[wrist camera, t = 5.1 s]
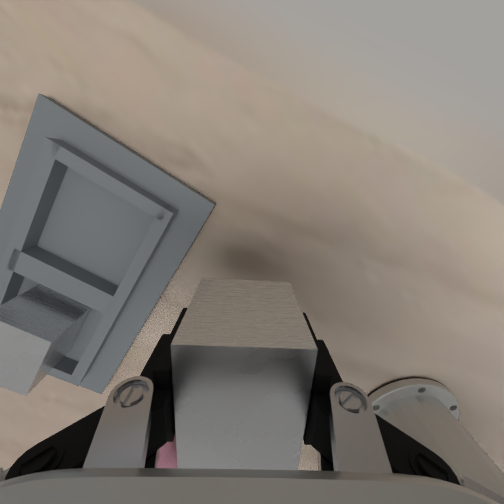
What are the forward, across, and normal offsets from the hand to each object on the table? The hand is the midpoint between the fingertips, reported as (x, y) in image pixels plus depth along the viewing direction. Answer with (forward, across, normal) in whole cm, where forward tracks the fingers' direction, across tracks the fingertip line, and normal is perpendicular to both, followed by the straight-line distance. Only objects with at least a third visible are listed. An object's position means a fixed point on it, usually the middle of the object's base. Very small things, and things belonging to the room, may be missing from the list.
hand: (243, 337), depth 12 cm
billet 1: (+9, +17, +6) cm, 21 cm away
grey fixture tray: (+10, +15, +2) cm, 18 cm away
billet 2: (+1, 0, 0) cm, 1 cm away
